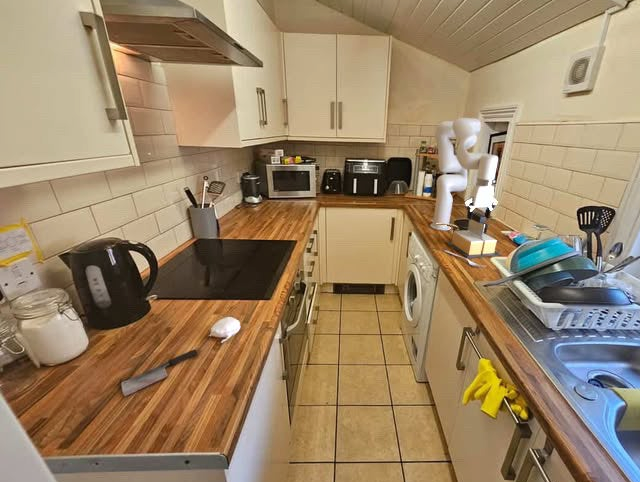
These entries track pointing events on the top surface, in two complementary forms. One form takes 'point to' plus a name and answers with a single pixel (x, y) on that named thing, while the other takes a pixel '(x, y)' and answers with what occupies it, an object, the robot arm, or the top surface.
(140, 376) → the cleaver
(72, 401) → the top surface
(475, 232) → the knife
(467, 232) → the cake
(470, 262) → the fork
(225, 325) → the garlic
